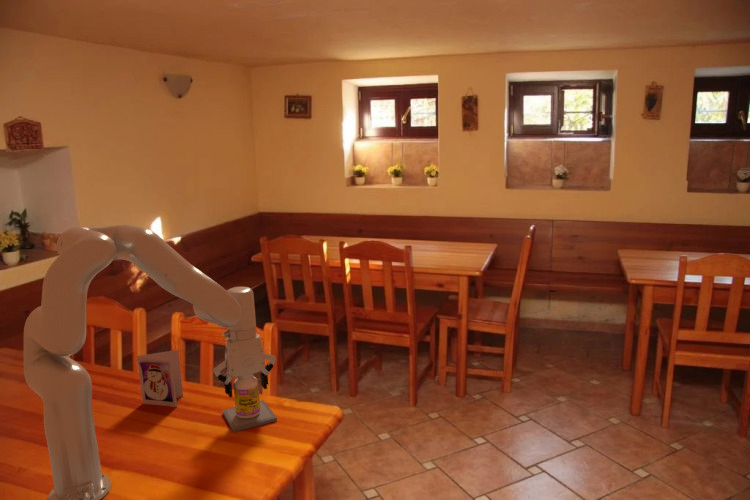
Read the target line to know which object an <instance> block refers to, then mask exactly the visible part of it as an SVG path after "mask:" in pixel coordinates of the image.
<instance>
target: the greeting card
mask: <svg viewBox="0 0 750 500" xmlns="http://www.w3.org/2000/svg"><path fill="white" fill-rule="evenodd" d="M136 360H137V367H138V375H139V376H138V377H139V383H140V384H139V385H140V393H141V399H142V404H143V405H153V406H165V407H171V408H172V407H175V408H178V399H177V398H182V397H184V393H183V392H184V391H183V383H182V374H181V366H180V356H179V349H174V350H166V351H161V352H156V353H155V352H153V353H148V354H141V355H137V356H136Z"/></svg>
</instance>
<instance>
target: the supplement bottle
mask: <svg viewBox="0 0 750 500" xmlns="http://www.w3.org/2000/svg"><path fill="white" fill-rule="evenodd" d="M254 375H255V373H253V374H249V375H244V376H240V377H236V379H235V380H234V381H233V391H234V394H233V396H234V405H235V407H236V415H237V416H238V417H239V418H243V419H248V418H253V417H255V416H257V415H258V414H259V413H260V401H261V400H260V387H259V386H260V385H259V379H258V378H257V377H255V376H254Z"/></svg>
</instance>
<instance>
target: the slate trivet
mask: <svg viewBox="0 0 750 500" xmlns="http://www.w3.org/2000/svg"><path fill="white" fill-rule="evenodd" d="M274 413H275V412H274V411H272V410H271V408H270V407H269V405H268V404H267V403H266V401H265V400H264V399H263V400H260V413H259V414H258V415H257V416H255V417H253V418H248V419H243V418H239V417H238V416H237V415H236V407H232V408H228V409H226V408H225V409H222V415H223V416H224V418H225V420H226V421H227V423H228V425H229V427H230V429H231V431H232V432H233V433H236V432H240V431H244V430H248V429H252V428H256V427H259V426H263V425H266V424H267V425H268V424H271V423H273V422H277V421H278V417H277V416H276V415H275V414H274Z"/></svg>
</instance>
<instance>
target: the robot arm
mask: <svg viewBox="0 0 750 500" xmlns="http://www.w3.org/2000/svg"><path fill="white" fill-rule="evenodd" d="M55 247H56V252H57V253H58V257H56V258H55V259H54V261H53V262H52V263H51V265H49V268H48V270H47V271H46V273H45V275H44V278H43V281H42V288H41V289H42V291H41V302H40V303H41V305H40V306H38V307H36V308H35V309H33V310H32V311H31V312H30V314H29V315H28V316H27V318H26V320H25V323H24V327H23V374H24V375H23V376H24V379H25V382H26V384H27V385H28V387H29V388H30V389H31V390H32V391H33V392H35V393H36V395H38V396H39V397H40V398H41V400H42V404H43V424H44V425H43V426H44V433H45V438H46V443H47V449H48V454H49V462H50V467H51V473H52V478H53V485H54V486H53V487H54V488H52V489H51V491H50V492H49V494H48V497H47V500H102V499H103V498H104V497H105V496H106V495H107V494H108V493H109V491H110V489H111V487H112V484H111V483H112V482H111V479H110V477H109V476H108V475H106V474H103V473H102V467H101V460H100V453H99V447H98V441H97V434H96V433H97V432H96V426H95V421H94V413H93V401H92V400H93V399H92V398H93V383H92V378H91V376H90V374H89V372H88V371H87V370H86V368H85V367H83V366H82V365H81V364H80V363H78V362H77V361H76V360H75V359H72V358H71V357H70V356H72V355H75V354H77V353H79V352H80V351H81V349H82V348H83V347H84V345H85V343H86V338H87V302H88V301H87V300H88V298H87V297H88V291H89V286H90V284H91V282H92V281H93V279H94V278H95V277H96V275H98V273H100V272H101V271H103V270H104V269H105V268H107V267H108V266H109V265H110V264H111V263H112V262H113V261H119V260H124V261H128V262H130V263H131V264H133V265H134V266H135V267H137V268H138V269H139V270H140V271H142V272H143V273H145V274H146V275H147V276H148V277H149V278H150V279H151V280H153V281H154V282H155V283H156V284H157V285H158V286H159V287H160V288H162V289H164V290H165V291H166V292H168V293H170V294H171V295H173V296H174V297H178V298H180V299H182V300H184V301H186V302H189V303H190V304H192V310H193V312H194V315H195V316H197V318H199V319H201V320H202V321H204V322H207V323H210V324H213V325H215V326H218V327H221V328H225V329H226V330H225V331H222V337H223V338H226V339H225V347H224V348H225V349H224V361H222V362H220V363H219V364H217V366H215V367H214V368H212V372H213V374H214V375H215V376H216V378H217V379H218V380H219V381H221V382H222V383H224V393H225V395H228V397H229V398H230V399H231V398H233V388H232V385H233V384H232V382H231V381H232V380H233V378H237V377H240V376H244V375H249V374H253V373H254V374H257V373H260V384H261V387H262V388H263V389H264V390H267V389H268V385H269V375H270V372H271V371H272V369H273V368H274V364H275V362H276V360H277V357H276V356H275V355H272V354H268V353H265V352H264V347H263V341H262V338H261V335H260V334H259V333H257V320H256V307H255V296H254V291H253V289H252V288H250V287H248V286H233V287H231V288H229V289H225V288H224V287H223V286H222V285H220V284H219V283H218V282H217V281H215V280H213V279H212V278H211V277H209V276H208V275H207V274H205V273H204V272H202V271H201V270H200V269H198V268H197V267H195V266H194V265H193V264H191V263H190V262H189V261H188V260H186V258H184V257H183V256H182V255H181V254H180V253H179V252H177V251H176V250H175V249H174V248H173V246H171V245H169V244H168V242H166V241H165V240H164V239H163V238H162V237H161V236H159V235H158V234H157V233H156V232H155V231H153V230H151V229H149V228H146V227H142V226H138V225H134V224H133V225H132V224H119V225H117V224H116V225H97V226H75V227H71V228H68V229H66V230H64V232H62V233H61V234H60V235H59V236H58V239H57V241H56V246H55ZM266 360H268V362H267V364H266ZM224 369H225V371H226V372H225V374H224V375H223V374H221V371H222V370H224Z"/></svg>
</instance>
